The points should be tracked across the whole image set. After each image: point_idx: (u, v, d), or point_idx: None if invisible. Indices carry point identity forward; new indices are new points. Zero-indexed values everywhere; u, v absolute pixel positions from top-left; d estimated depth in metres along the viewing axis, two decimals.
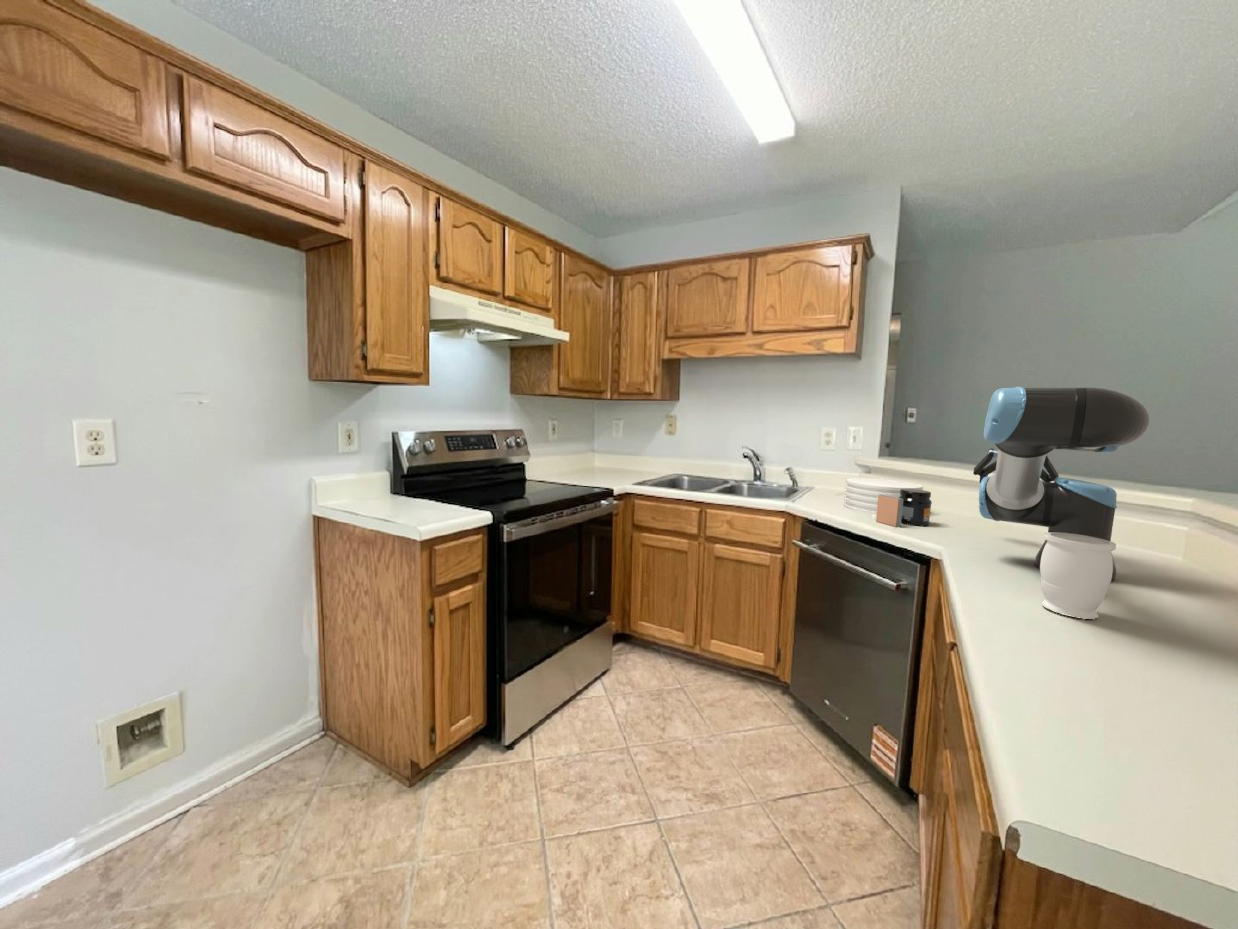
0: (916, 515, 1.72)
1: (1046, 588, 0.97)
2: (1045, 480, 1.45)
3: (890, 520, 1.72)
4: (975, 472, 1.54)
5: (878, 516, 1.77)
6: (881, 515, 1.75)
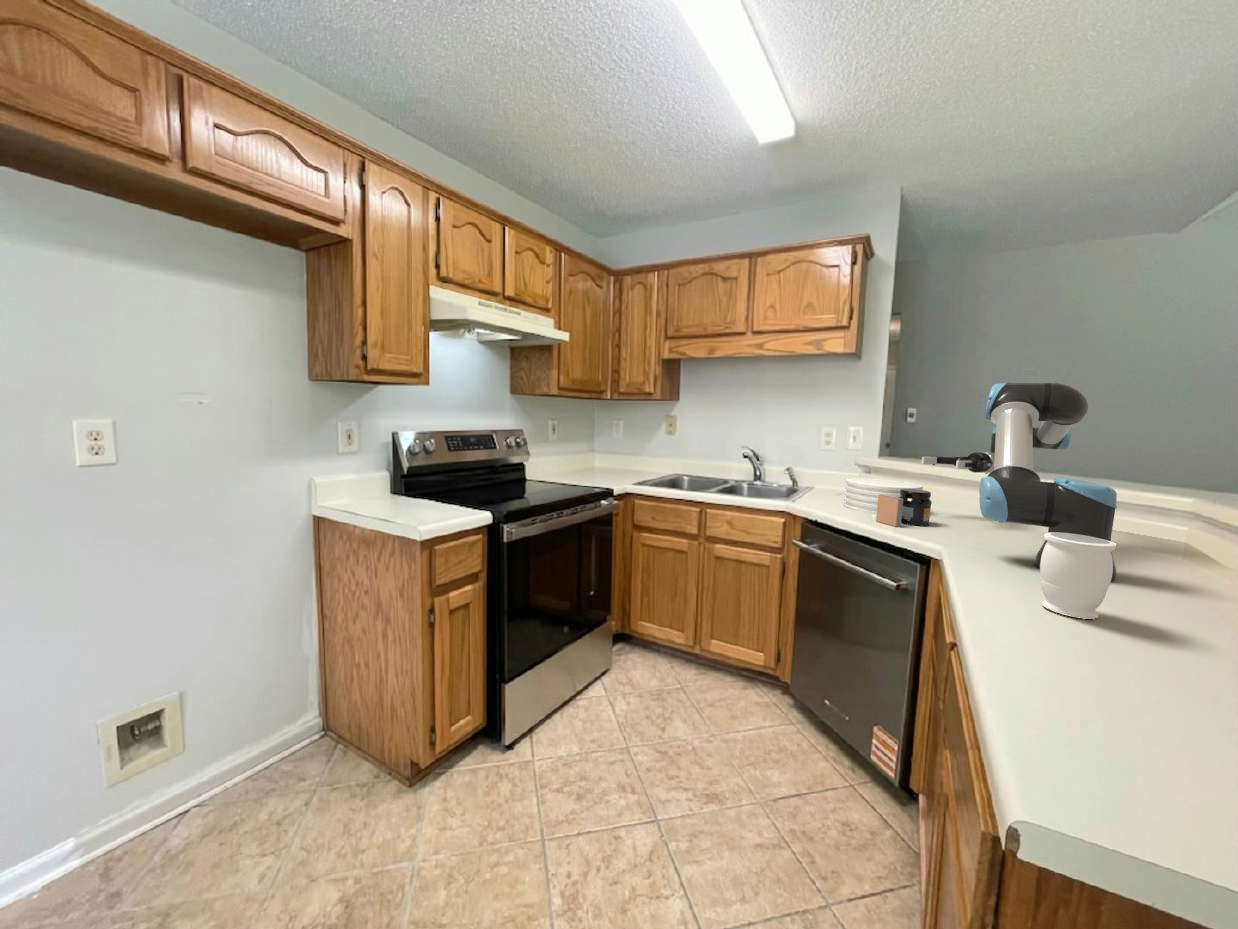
0: (916, 515, 1.72)
1: (1046, 588, 0.97)
2: None
3: (890, 520, 1.72)
4: None
5: (878, 516, 1.77)
6: (881, 515, 1.75)
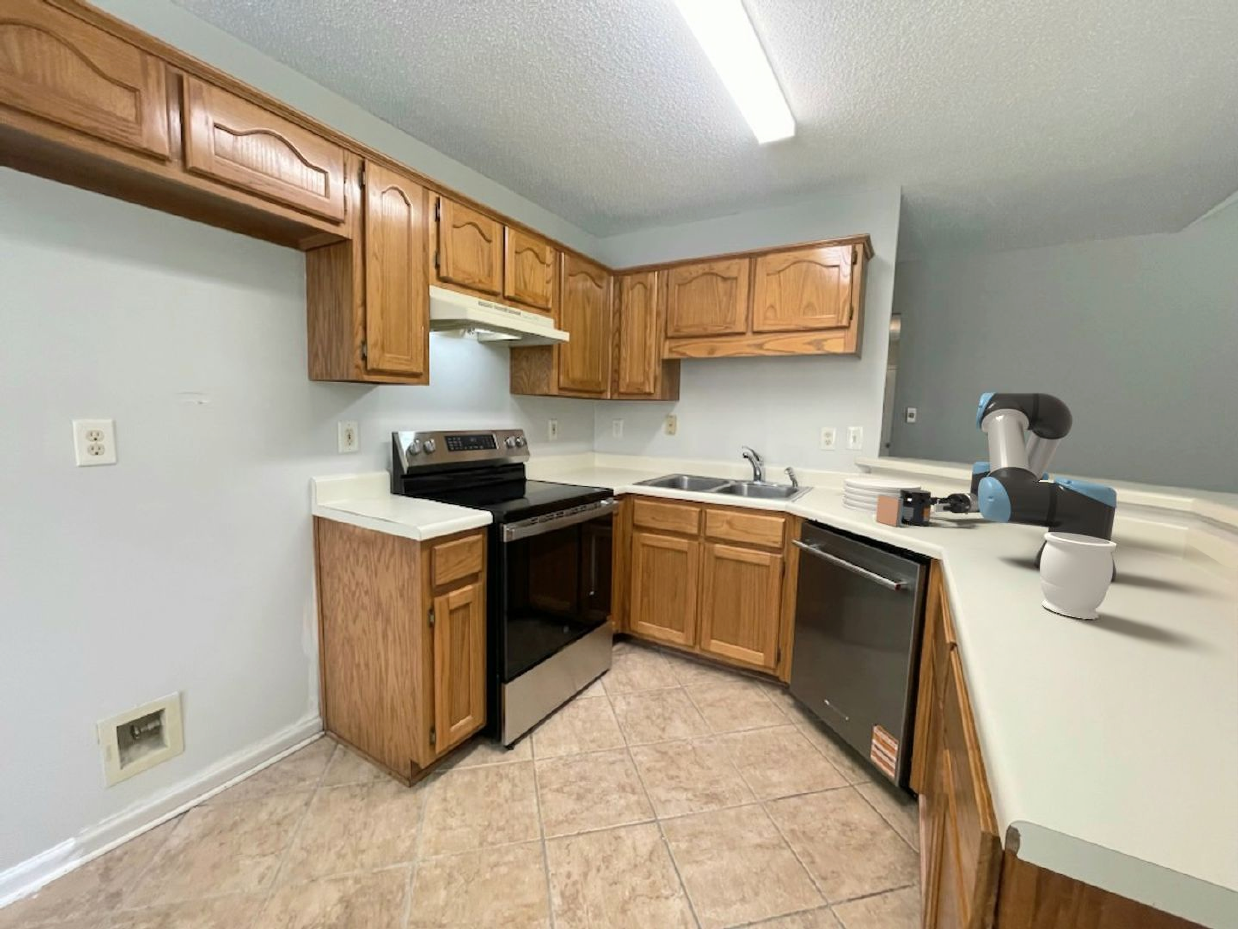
0: (916, 515, 1.72)
1: (1046, 588, 0.97)
2: None
3: (890, 520, 1.72)
4: None
5: (878, 516, 1.77)
6: (881, 515, 1.75)
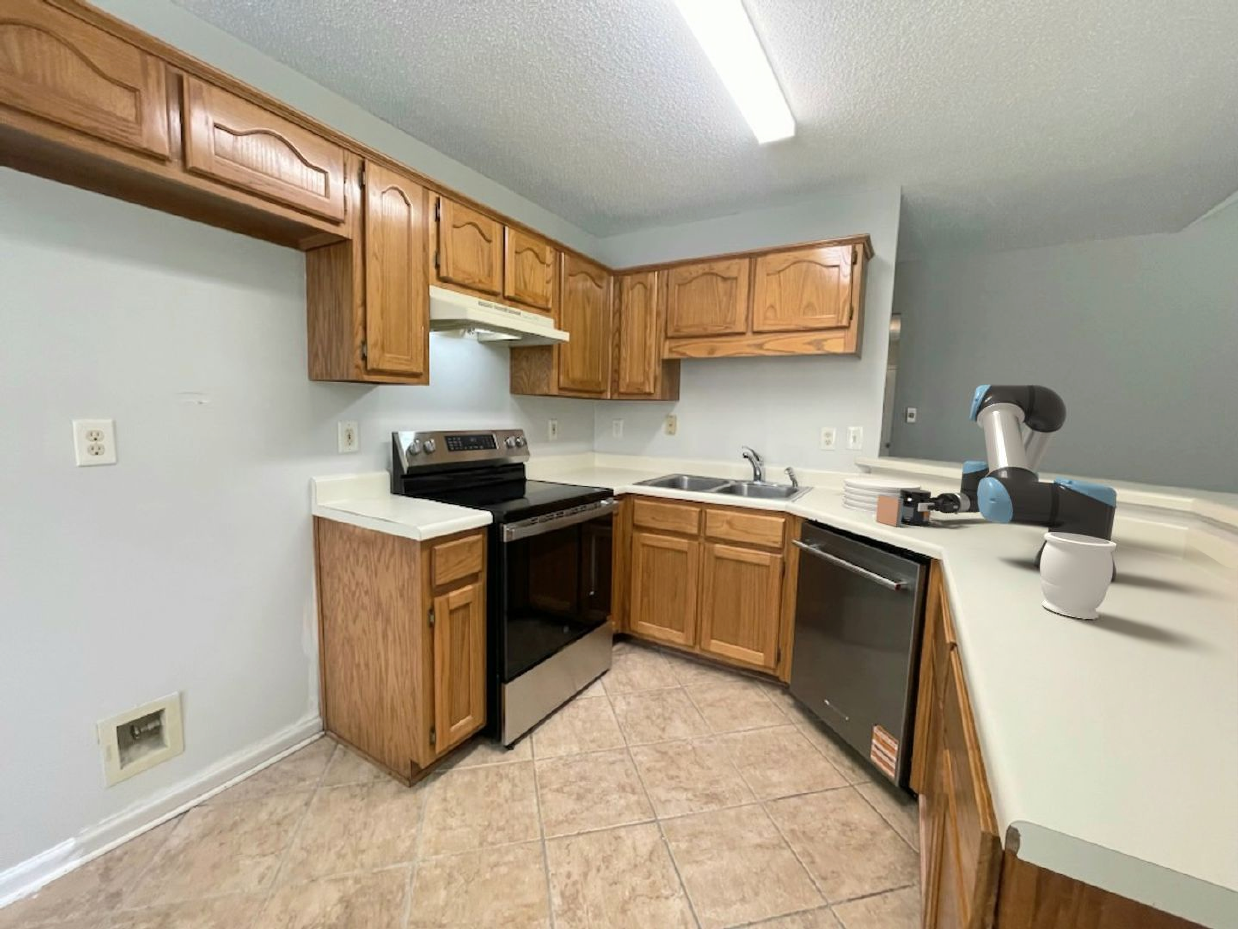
0: (916, 515, 1.72)
1: (1046, 588, 0.97)
2: None
3: (890, 520, 1.72)
4: None
5: (878, 516, 1.77)
6: (881, 515, 1.75)
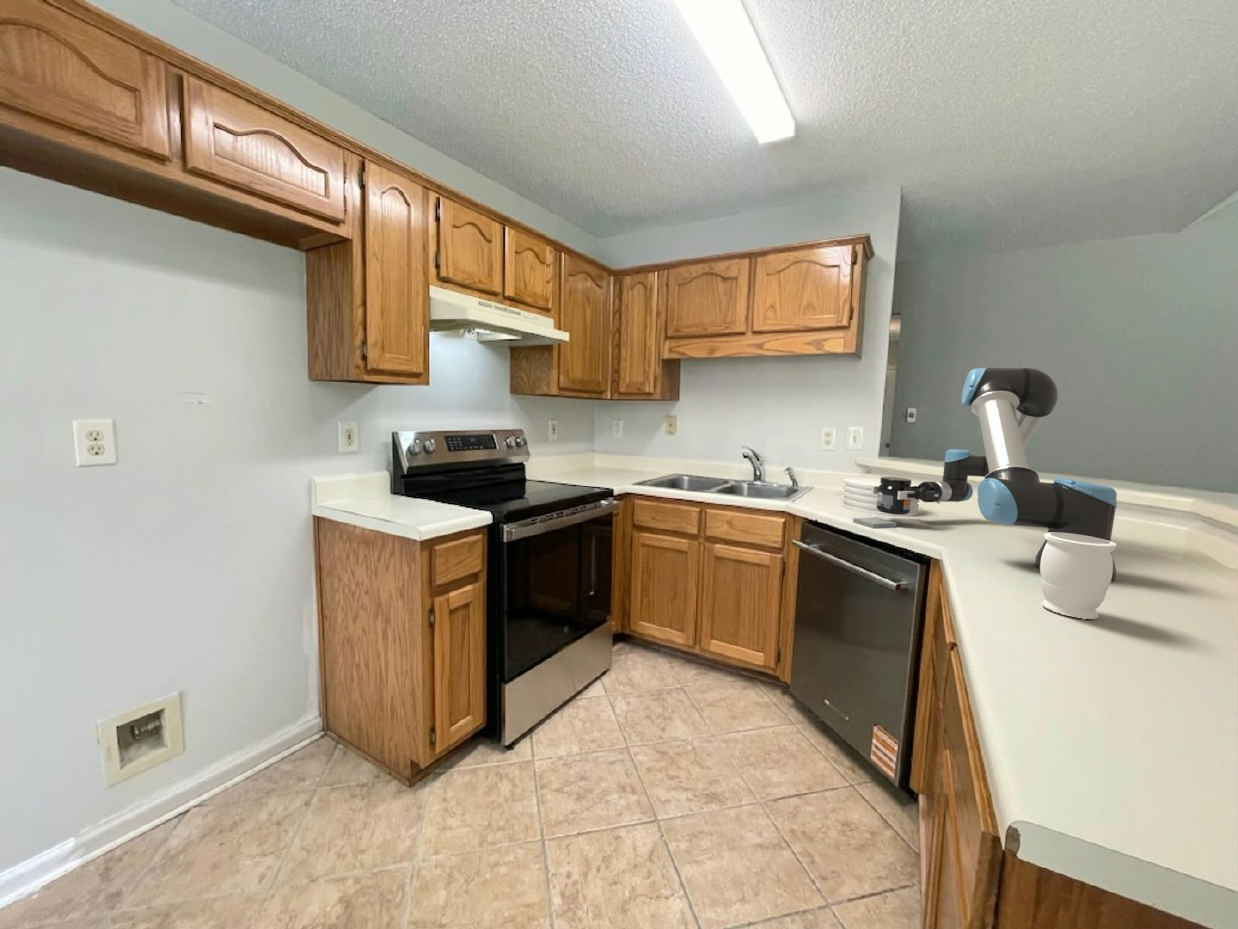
0: (896, 503, 1.69)
1: (1046, 588, 0.97)
2: None
3: None
4: None
5: None
6: None
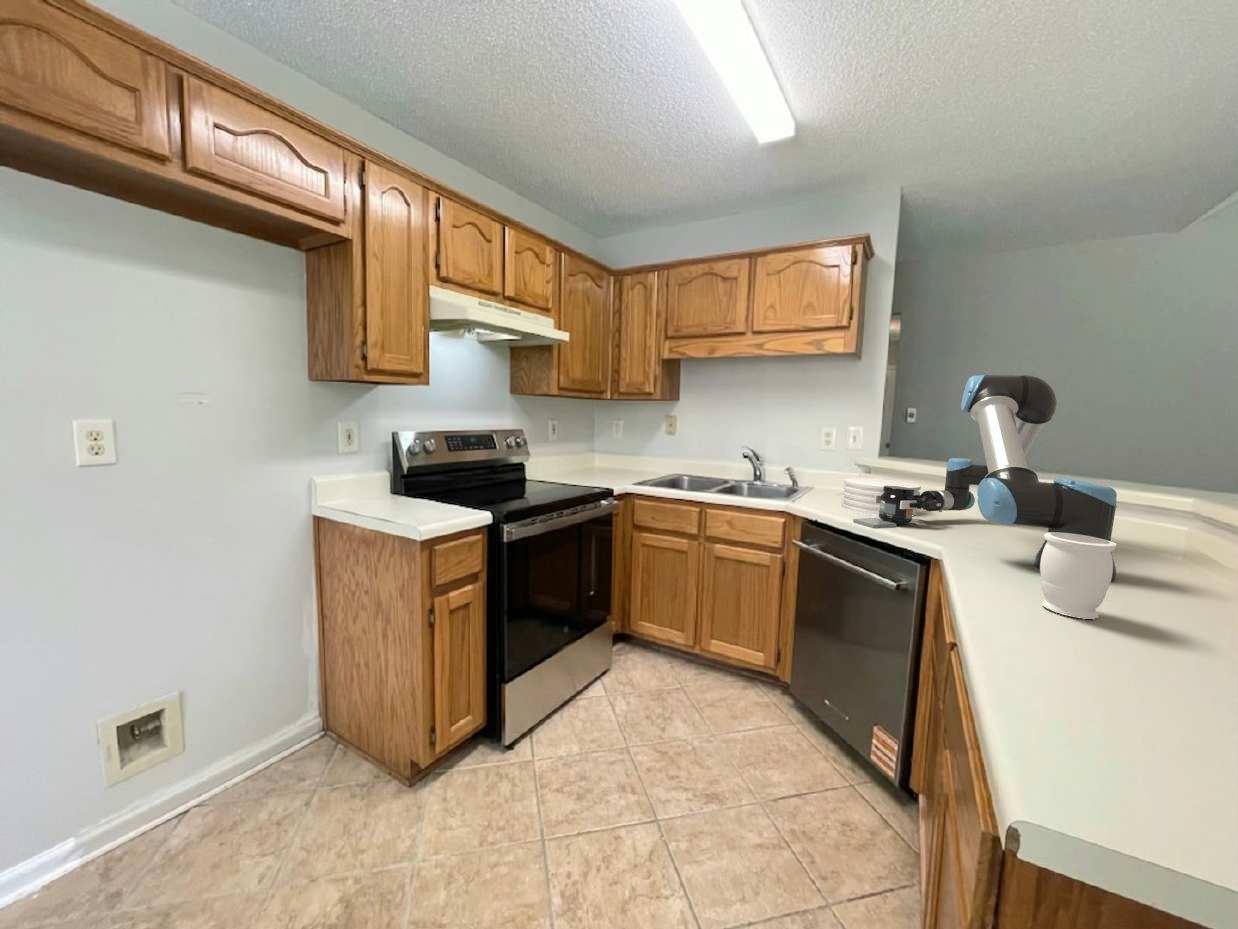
0: (898, 512, 1.70)
1: (1046, 588, 0.97)
2: None
3: None
4: None
5: None
6: None
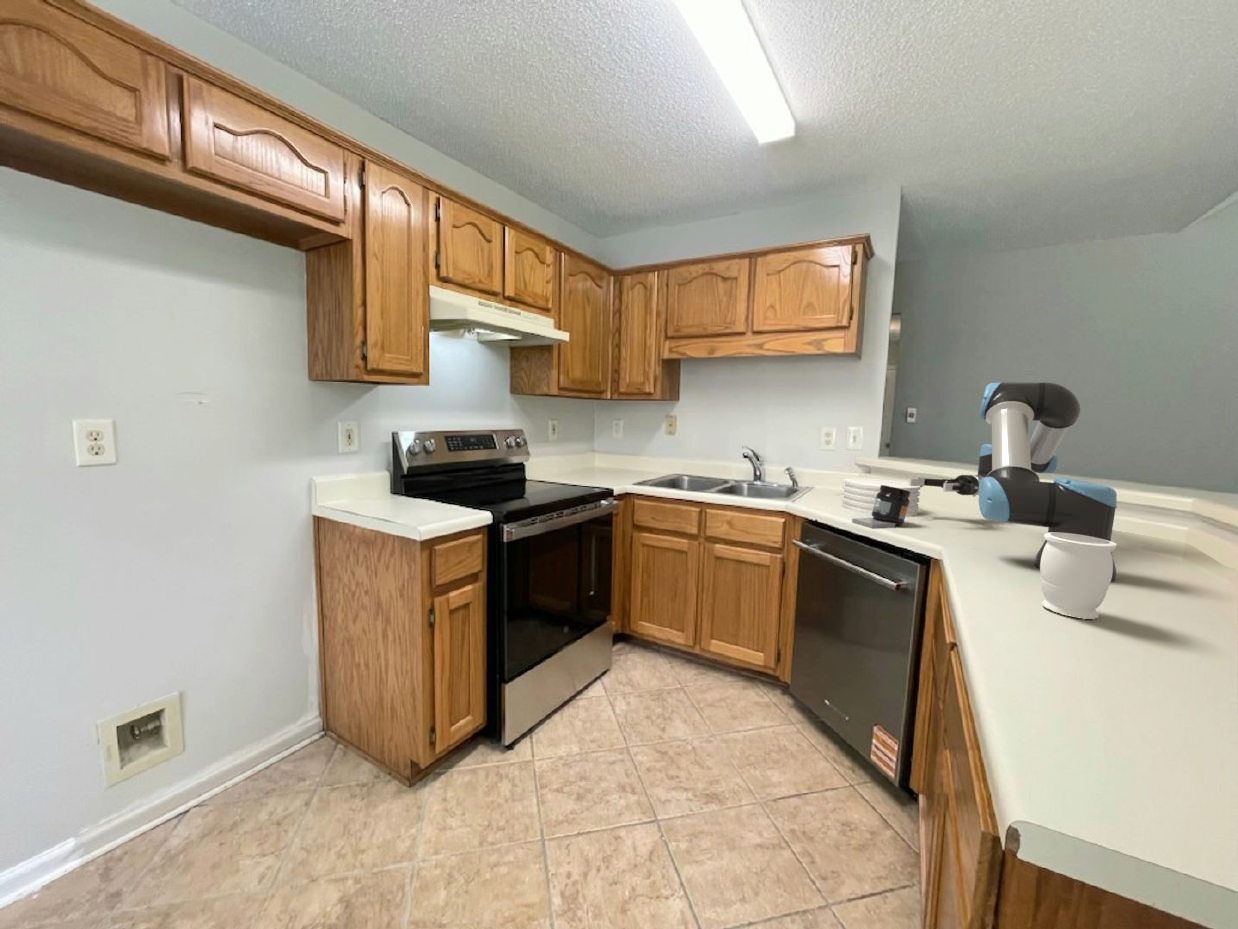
0: (892, 510, 1.69)
1: (1046, 588, 0.97)
2: None
3: None
4: None
5: None
6: None
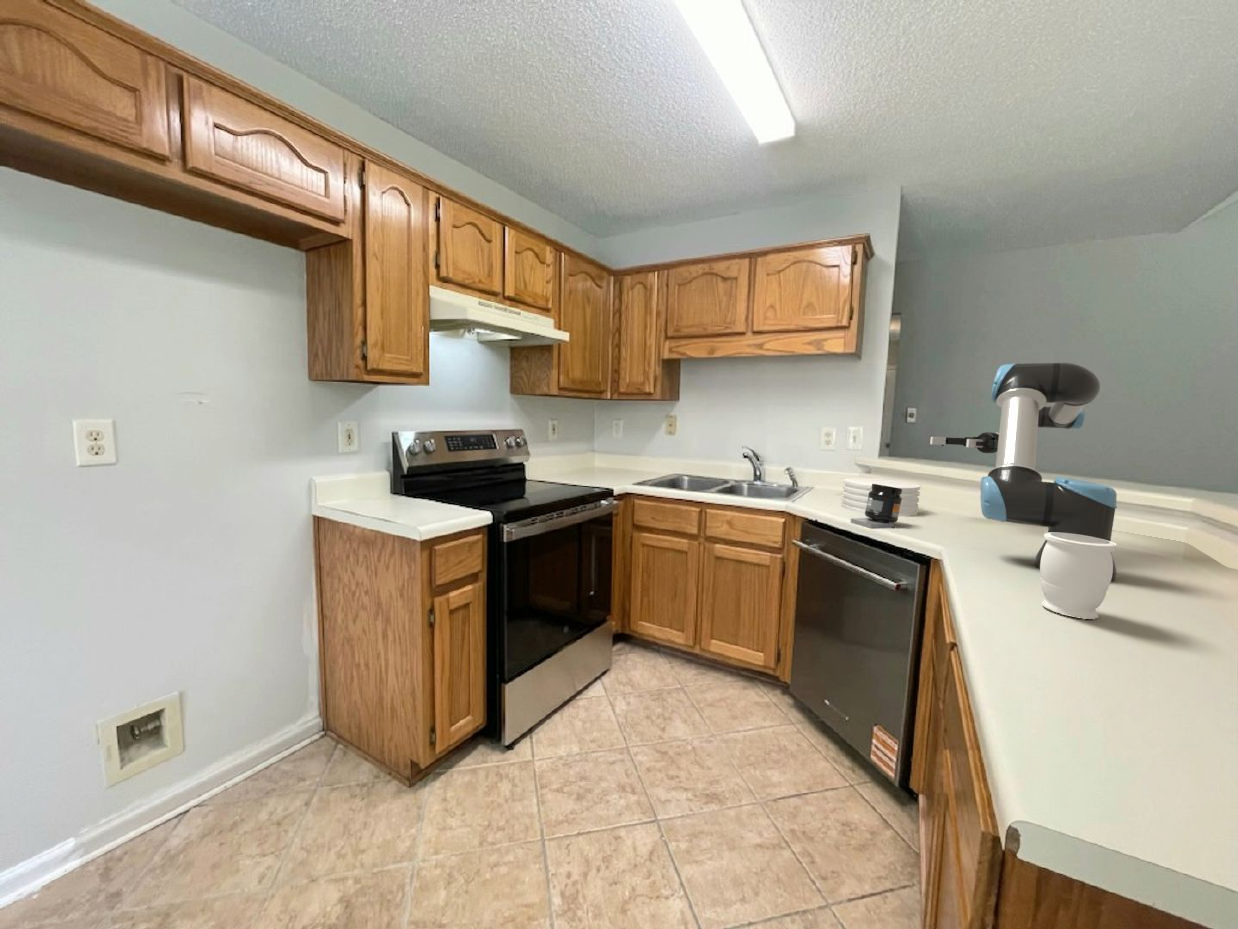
0: (885, 509, 1.68)
1: (1046, 588, 0.97)
2: None
3: None
4: None
5: None
6: None
